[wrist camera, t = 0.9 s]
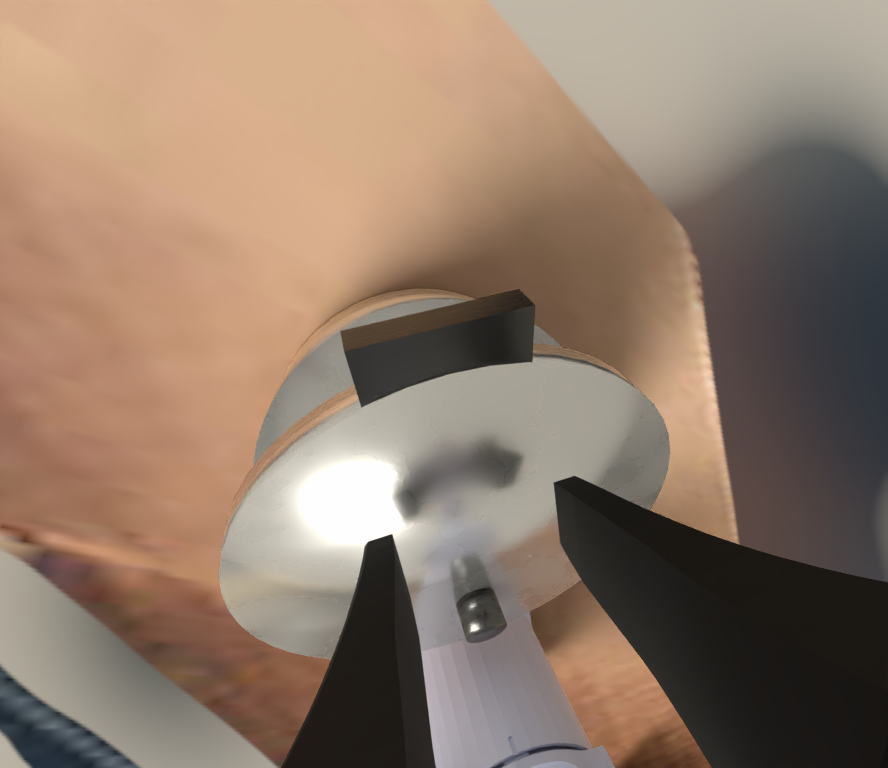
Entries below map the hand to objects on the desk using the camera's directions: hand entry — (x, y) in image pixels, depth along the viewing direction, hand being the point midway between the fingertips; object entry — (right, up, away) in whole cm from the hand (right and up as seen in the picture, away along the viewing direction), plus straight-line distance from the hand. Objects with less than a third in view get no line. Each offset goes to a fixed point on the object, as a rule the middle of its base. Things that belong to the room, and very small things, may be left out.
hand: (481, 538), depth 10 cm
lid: (0, 0, +3) cm, 3 cm away
